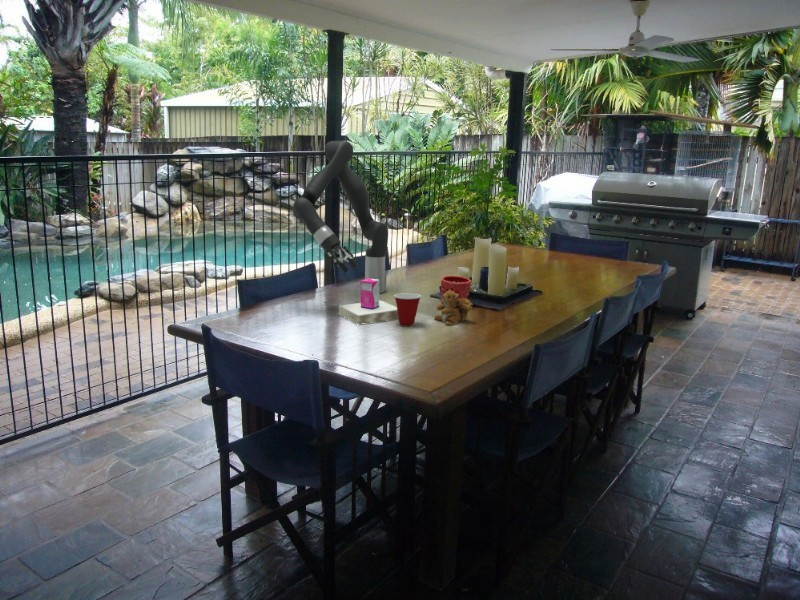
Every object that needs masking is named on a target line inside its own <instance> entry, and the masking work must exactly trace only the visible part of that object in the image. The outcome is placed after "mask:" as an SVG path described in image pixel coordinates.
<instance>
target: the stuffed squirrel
mask: <svg viewBox="0 0 800 600" xmlns="http://www.w3.org/2000/svg"><path fill="white" fill-rule="evenodd" d="M457 297H458V294H456V293H455V292H453V291H451V290H449V291H447V292H446V293H445V294H444V295H443V296H442V295H441V297H439V301H440V302H441V299H442V301H443V302H444V304H443V303H441V304H440V303H439V304H438V305H436V310H437V311H441V315H435V316H433V319H434V320H435V321H440V320H441V321H442V322H443V323H444V324H445V326H447V325H449V326H454V325H457V324H458V323H460V322H461V323H462V322H464V321H465V320H466V319H467V315H468V312H469V311H471V310H472V308H473V305H474V304H473V303H472V302H471V300H469V299H468V298H467V299H464V298H460V299H458V300H456V298H457Z"/></svg>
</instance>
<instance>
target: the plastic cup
mask: <svg viewBox="0 0 800 600" xmlns="http://www.w3.org/2000/svg"><path fill="white" fill-rule="evenodd" d="M393 297H394V299H395V304H396V307H397V312H398V318H399V319H398V323H400V324H401V325H400V324H399V325H400V326H403V325H406V326H405V327H411V326H410V325H412V326H413V325H414V323H415V321H416V316H417V312H418V308H419V305H420V304H419V303H420V300H421V298H422V295H421V294H419V293H406V292H405V293H403V292H402V293H396V294H394V295H393Z"/></svg>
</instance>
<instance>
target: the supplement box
mask: <svg viewBox="0 0 800 600" xmlns="http://www.w3.org/2000/svg"><path fill="white" fill-rule="evenodd" d="M379 300H380V293H379V280H378V279H370V278H367V279H365V278H364V279H362V280H360V303H361V308H366V309H371V310H373V309H375V308H377V307H379Z"/></svg>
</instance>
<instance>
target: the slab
mask: <svg viewBox="0 0 800 600" xmlns="http://www.w3.org/2000/svg"><path fill="white" fill-rule="evenodd" d="M338 315H339V316H340V315H341V316H340V317H342V316H343V317H342V318H344V317H345V318H344V319H346V318H347V319H346V320H348V319H349V320H348V321H350V320H351V321H350V322H352V321H353V322H355V323H357V324H362V323H369V324H371V323H370V322H375V323H380V322H379V321H382V322H387V321H386V320H389V321H395V320H394V319H396V320H399V318H398V312H397V306H395V305H392V304H390V303H388V302H386V301H383V300H380V299H379V307H377V308H375V309H373V310H371V309H366V308H361V302H357V303H350V304H349V303H347V304H343V305H339V306H338ZM353 322H352V323H353ZM355 323H354V324H355ZM357 324H356V325H357ZM362 325H363V324H362Z"/></svg>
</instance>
